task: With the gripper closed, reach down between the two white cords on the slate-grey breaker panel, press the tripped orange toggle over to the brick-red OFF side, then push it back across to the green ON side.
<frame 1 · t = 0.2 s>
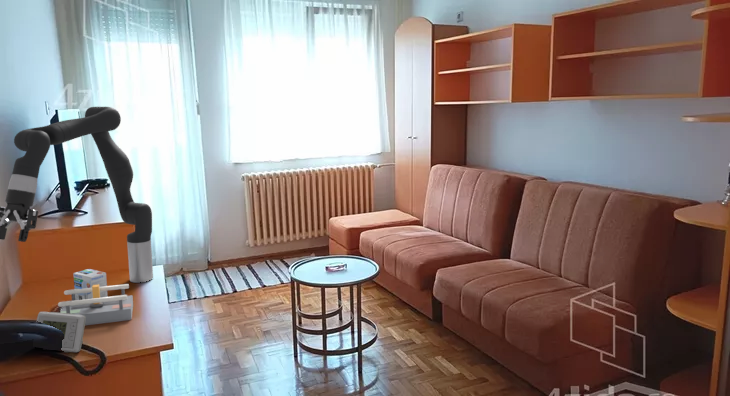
hand: (11, 240, 164), 31 cm above the table, tool tilted 20°, fingers open, 8 cm apart
light bulb box: (91, 300, 198), on the table
breaker toggle: (96, 295, 181), point 8 cm above the table, slide at 0.0 cm
breaker panel: (98, 316, 182), on the table
digital clock: (60, 348, 158), on the table
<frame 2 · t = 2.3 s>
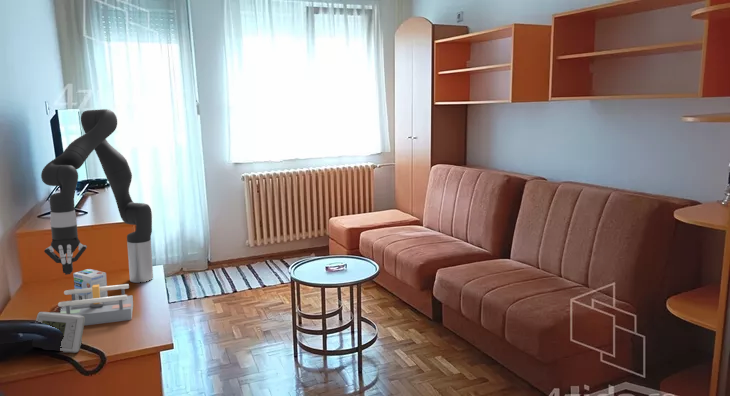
hand: (68, 273, 176), 17 cm above the table, tool pointing down, fingers closed
nothing on the table moved.
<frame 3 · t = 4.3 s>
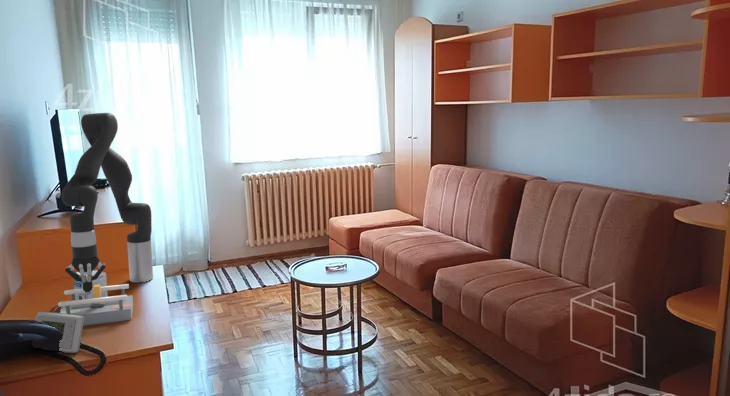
hand: (88, 291, 180), 9 cm above the table, tool pointing down, fingers closed
breaker toggle: (97, 295, 181), point 8 cm above the table, slide at 0.3 cm, touching gripper
everything else where it was.
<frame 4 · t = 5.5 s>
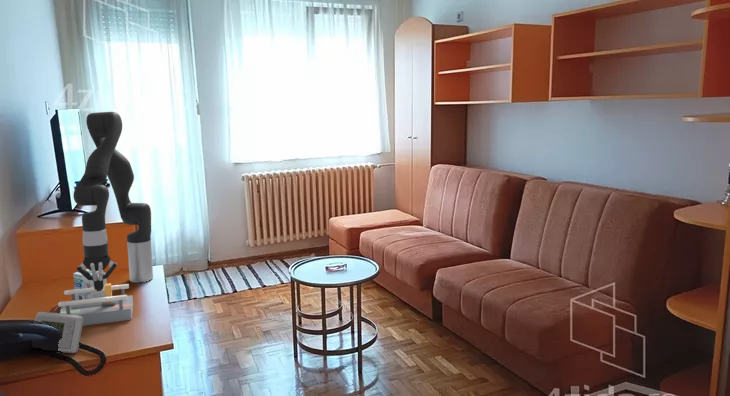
hand: (99, 290, 181), 10 cm above the table, tool pointing down, fingers closed
breaker toggle: (108, 294, 182), point 8 cm above the table, slide at 3.8 cm
everything else where it was.
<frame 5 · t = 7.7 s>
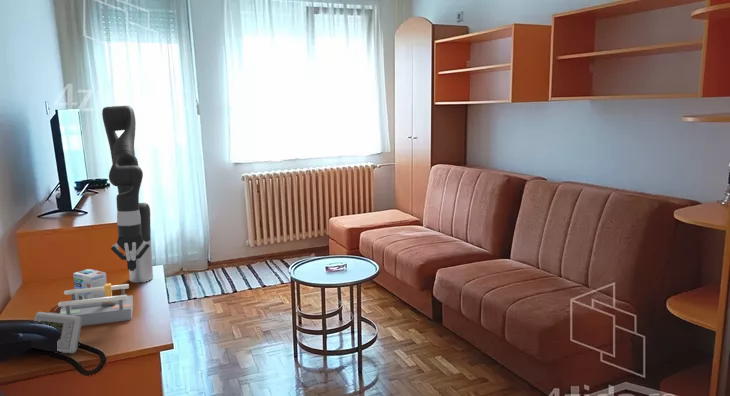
hand: (132, 270, 184), 16 cm above the table, tool pointing down, fingers closed
nothing on the table moved.
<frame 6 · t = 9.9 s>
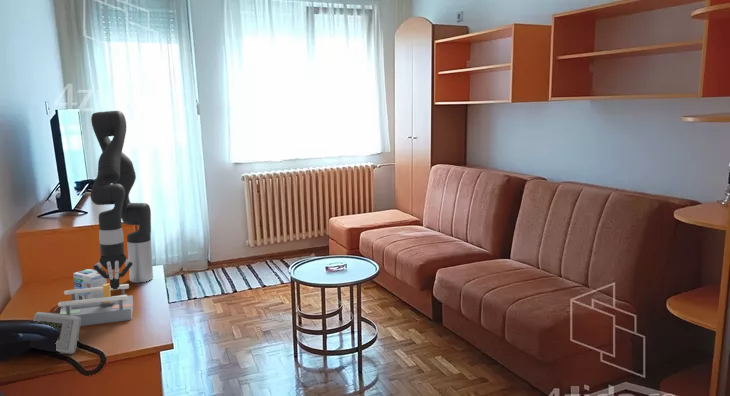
hand: (115, 288, 183), 10 cm above the table, tool pointing down, fingers closed
breaker toggle: (107, 294, 182), point 8 cm above the table, slide at 3.3 cm, touching gripper
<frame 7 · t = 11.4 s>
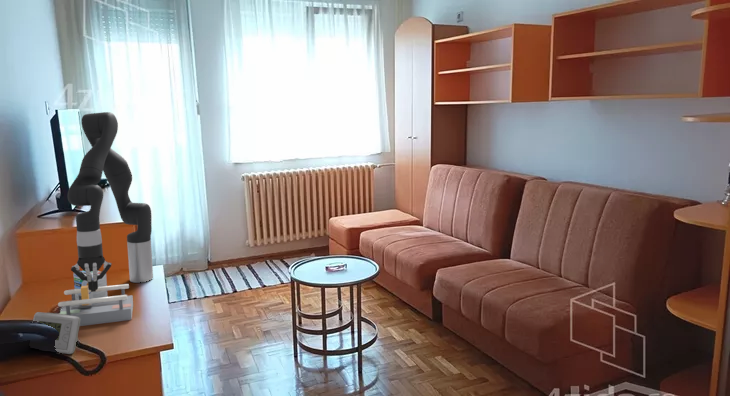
hand: (93, 290, 180), 10 cm above the table, tool pointing down, fingers closed
breaker toggle: (85, 296, 179), point 8 cm above the table, slide at -3.5 cm, touching gripper
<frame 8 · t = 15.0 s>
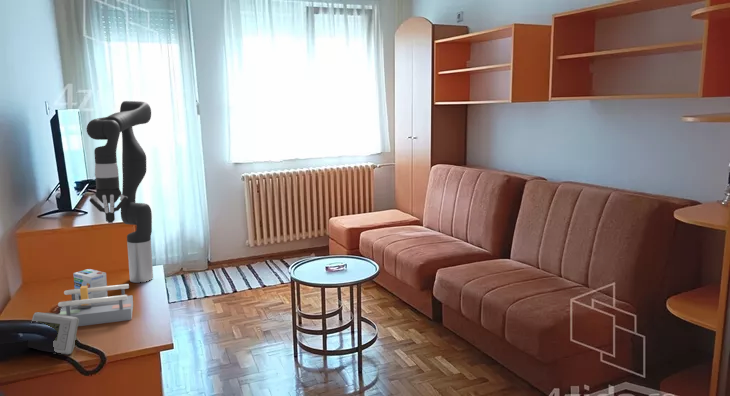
hand: (110, 222, 190), 31 cm above the table, tool pointing down, fingers closed
breaker toggle: (84, 296, 179), point 8 cm above the table, slide at -3.7 cm
at the end: breaker toggle slide at -3.7 cm; the gripper is holding nothing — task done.
